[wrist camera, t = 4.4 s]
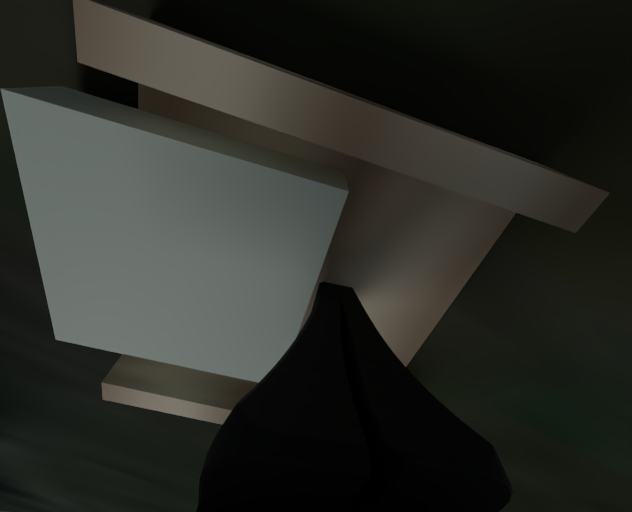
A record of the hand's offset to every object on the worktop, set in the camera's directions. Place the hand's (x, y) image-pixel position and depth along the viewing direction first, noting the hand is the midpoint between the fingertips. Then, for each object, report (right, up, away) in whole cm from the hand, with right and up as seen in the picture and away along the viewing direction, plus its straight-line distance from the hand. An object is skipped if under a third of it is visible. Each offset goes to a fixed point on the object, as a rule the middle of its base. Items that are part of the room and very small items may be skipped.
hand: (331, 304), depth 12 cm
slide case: (-1, +1, +1) cm, 2 cm away
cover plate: (-5, +2, 0) cm, 6 cm away
